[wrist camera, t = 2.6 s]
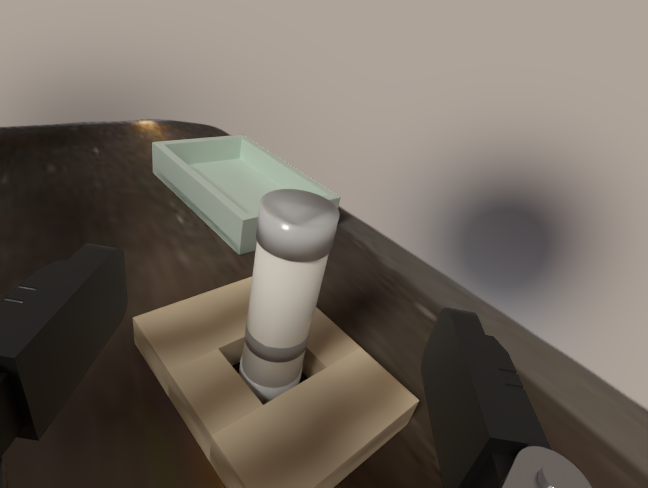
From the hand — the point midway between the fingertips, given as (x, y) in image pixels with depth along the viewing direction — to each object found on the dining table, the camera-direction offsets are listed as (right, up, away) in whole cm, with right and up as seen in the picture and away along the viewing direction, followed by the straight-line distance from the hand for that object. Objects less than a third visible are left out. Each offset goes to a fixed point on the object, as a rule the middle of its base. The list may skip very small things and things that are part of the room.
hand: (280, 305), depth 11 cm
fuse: (-3, -8, +19) cm, 21 cm away
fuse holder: (-3, -8, +19) cm, 21 cm away
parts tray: (-9, +7, +40) cm, 42 cm away
